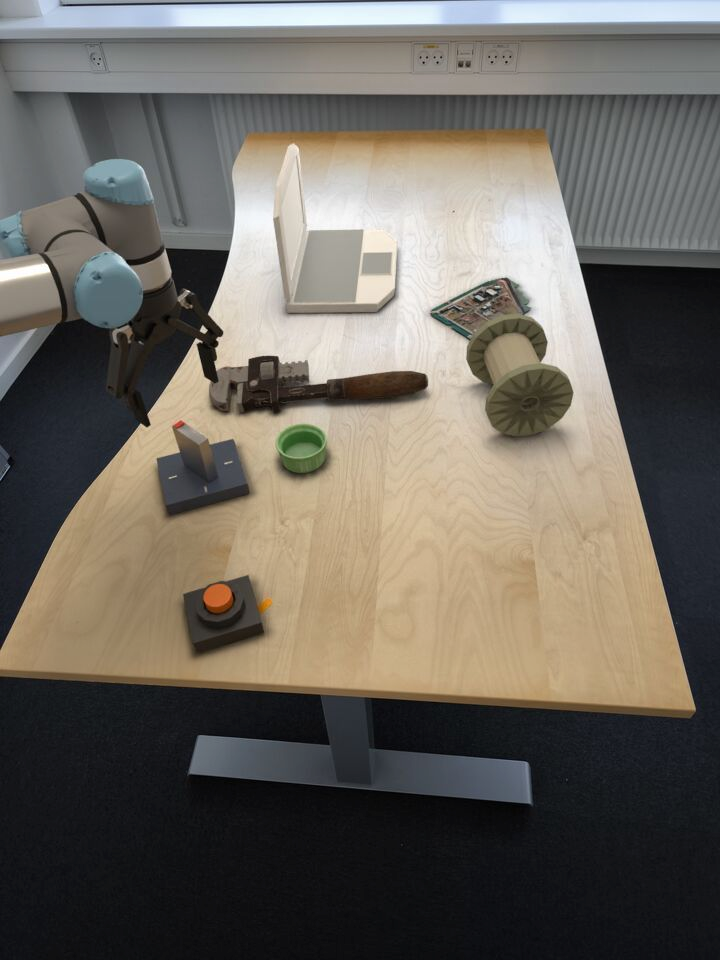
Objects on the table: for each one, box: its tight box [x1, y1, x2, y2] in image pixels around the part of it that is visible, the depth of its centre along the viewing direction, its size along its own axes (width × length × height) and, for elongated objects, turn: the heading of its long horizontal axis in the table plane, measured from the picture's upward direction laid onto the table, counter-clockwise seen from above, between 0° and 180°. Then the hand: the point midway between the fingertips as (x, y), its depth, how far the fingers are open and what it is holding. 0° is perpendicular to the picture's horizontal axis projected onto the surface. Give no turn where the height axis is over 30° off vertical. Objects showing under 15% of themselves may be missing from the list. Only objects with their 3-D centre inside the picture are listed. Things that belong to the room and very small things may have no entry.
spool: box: [465, 313, 575, 438], centre depth 133 cm, size 16×15×15 cm
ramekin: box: [275, 423, 328, 474], centre depth 130 cm, size 9×9×4 cm
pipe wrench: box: [208, 355, 429, 413], centre depth 143 cm, size 43×13×5 cm, turn 93°
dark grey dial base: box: [156, 438, 251, 516], centre depth 128 cm, size 14×12×3 cm
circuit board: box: [429, 276, 532, 340], centre depth 161 cm, size 23×15×1 cm, turn 128°
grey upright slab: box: [171, 419, 218, 482], centre depth 124 cm, size 7×2×9 cm, turn 48°
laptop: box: [272, 143, 398, 314], centre depth 165 cm, size 33×24×26 cm
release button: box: [204, 584, 233, 614], centre depth 105 cm, size 4×4×2 cm
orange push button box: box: [182, 574, 265, 654], centre depth 107 cm, size 10×9×4 cm
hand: (178, 400), depth 115 cm, fingers open, 13 cm apart
